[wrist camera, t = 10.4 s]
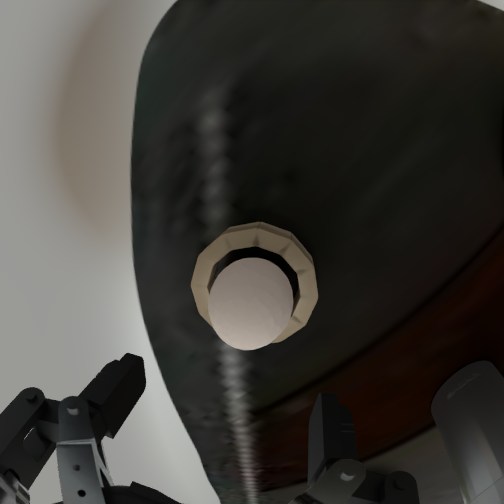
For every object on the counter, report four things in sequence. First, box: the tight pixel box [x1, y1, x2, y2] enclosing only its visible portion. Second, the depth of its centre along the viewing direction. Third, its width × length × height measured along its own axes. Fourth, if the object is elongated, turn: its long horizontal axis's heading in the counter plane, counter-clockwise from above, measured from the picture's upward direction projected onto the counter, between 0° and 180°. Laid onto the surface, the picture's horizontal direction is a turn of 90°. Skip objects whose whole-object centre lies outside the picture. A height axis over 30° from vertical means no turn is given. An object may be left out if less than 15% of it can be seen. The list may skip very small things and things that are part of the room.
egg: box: [208, 258, 293, 350], centre depth 19 cm, size 6×6×8 cm
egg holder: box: [191, 222, 318, 343], centre depth 22 cm, size 9×9×2 cm
